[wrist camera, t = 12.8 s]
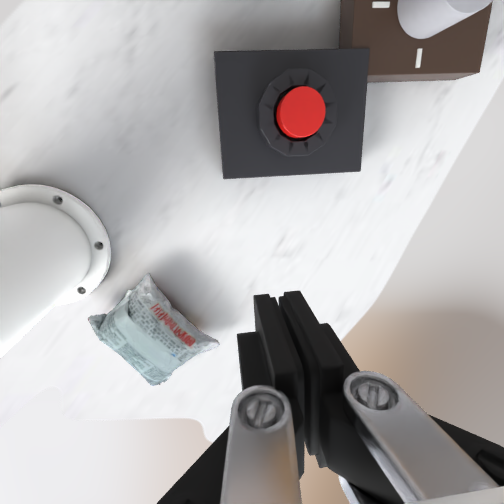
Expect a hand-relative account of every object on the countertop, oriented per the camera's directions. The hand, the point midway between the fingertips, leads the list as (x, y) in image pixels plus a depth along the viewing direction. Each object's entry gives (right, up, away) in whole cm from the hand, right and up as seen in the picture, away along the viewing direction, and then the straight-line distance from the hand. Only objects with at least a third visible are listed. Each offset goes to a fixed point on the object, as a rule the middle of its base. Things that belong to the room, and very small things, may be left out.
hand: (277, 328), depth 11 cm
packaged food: (-12, -5, +24) cm, 27 cm away
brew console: (+13, +24, +16) cm, 32 cm away
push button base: (+2, +16, +18) cm, 24 cm away
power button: (+3, +14, +14) cm, 20 cm away
